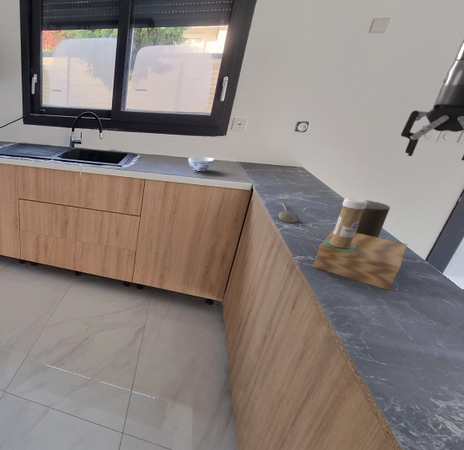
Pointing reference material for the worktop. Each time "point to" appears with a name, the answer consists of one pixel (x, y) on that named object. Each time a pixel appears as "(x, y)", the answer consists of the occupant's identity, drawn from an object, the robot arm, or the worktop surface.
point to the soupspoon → (288, 215)
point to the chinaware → (200, 163)
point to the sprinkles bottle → (348, 222)
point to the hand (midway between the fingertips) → (435, 157)
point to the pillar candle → (373, 218)
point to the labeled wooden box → (363, 259)
